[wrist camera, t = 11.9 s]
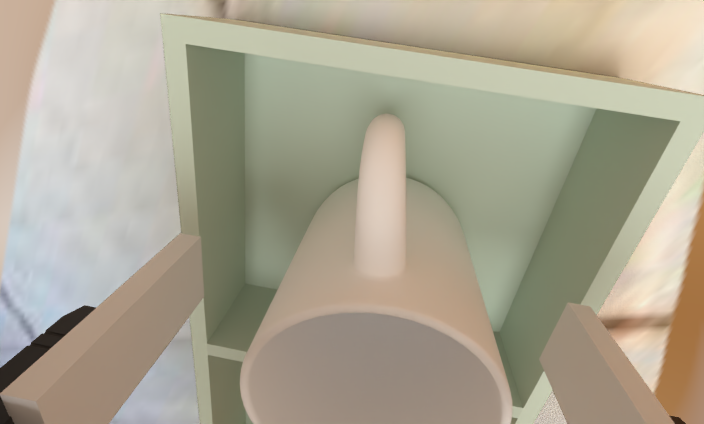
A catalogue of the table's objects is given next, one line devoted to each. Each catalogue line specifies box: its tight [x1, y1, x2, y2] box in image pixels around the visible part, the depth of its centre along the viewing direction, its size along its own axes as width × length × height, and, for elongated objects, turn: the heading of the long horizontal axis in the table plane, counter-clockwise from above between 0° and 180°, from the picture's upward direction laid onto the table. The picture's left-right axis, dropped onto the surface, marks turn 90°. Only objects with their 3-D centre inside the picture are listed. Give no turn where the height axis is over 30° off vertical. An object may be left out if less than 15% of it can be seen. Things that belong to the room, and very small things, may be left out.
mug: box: [240, 113, 512, 424], centre depth 15 cm, size 12×8×10 cm
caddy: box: [160, 13, 704, 424], centre depth 21 cm, size 18×30×6 cm, turn 172°
